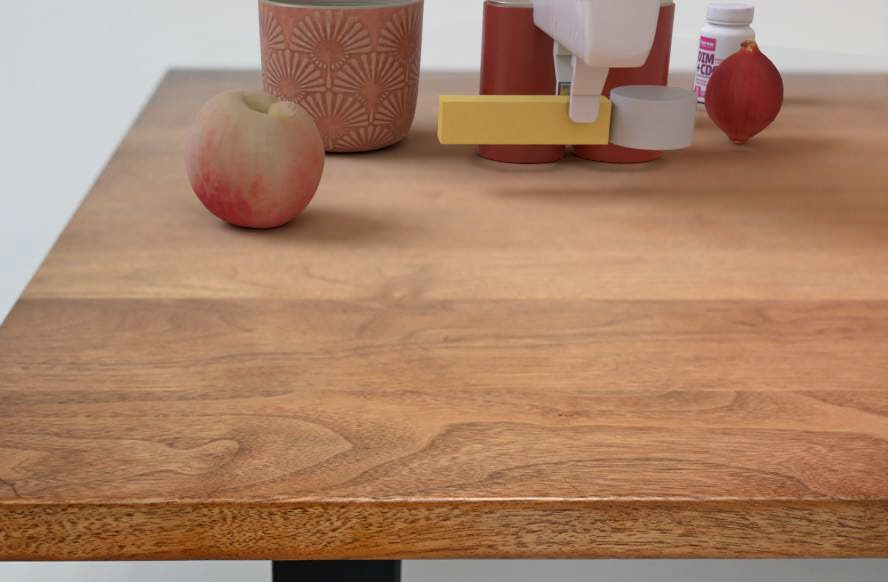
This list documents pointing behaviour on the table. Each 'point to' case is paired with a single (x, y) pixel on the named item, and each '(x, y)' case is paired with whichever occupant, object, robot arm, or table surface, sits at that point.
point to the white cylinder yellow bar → (546, 122)
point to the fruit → (254, 158)
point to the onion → (744, 93)
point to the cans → (533, 73)
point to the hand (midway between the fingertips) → (575, 115)
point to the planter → (345, 66)
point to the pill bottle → (721, 39)
